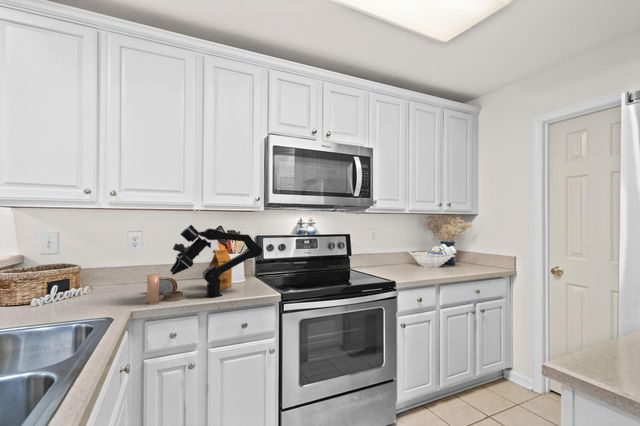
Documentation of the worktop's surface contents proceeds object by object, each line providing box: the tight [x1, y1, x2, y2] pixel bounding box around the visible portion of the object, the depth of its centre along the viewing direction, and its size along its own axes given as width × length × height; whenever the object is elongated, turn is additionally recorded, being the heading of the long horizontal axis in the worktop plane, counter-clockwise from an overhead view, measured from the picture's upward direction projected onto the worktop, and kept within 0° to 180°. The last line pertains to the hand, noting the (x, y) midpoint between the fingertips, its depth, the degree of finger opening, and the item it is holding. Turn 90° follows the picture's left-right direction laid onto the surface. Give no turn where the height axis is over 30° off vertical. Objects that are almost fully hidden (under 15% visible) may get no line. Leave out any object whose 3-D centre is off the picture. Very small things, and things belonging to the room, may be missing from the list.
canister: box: [146, 273, 160, 305], centre depth 155 cm, size 5×5×13 cm
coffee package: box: [208, 248, 233, 291], centre depth 187 cm, size 10×12×22 cm
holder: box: [162, 290, 184, 302], centre depth 162 cm, size 9×9×3 cm
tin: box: [159, 276, 178, 295], centre depth 175 cm, size 15×3×8 cm, turn 74°
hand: (171, 272), depth 159 cm, fingers open, 9 cm apart
